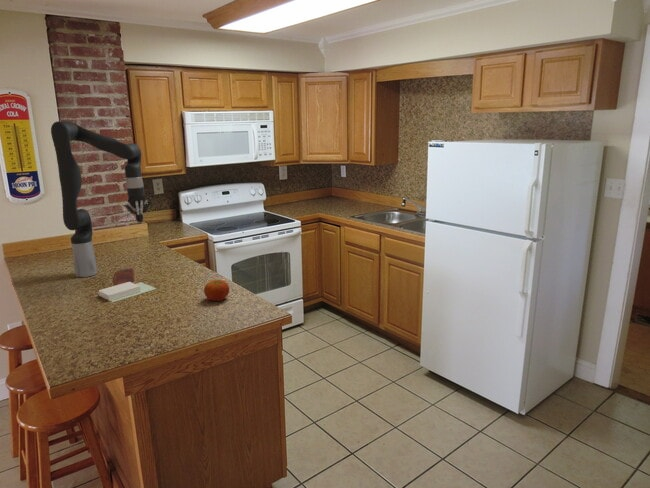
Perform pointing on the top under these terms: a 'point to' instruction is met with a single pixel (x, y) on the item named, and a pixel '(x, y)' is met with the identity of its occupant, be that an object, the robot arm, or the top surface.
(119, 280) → the wooden tablet
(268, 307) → the top surface
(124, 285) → the white rectangular block
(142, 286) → the cutting board
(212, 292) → the fruit
